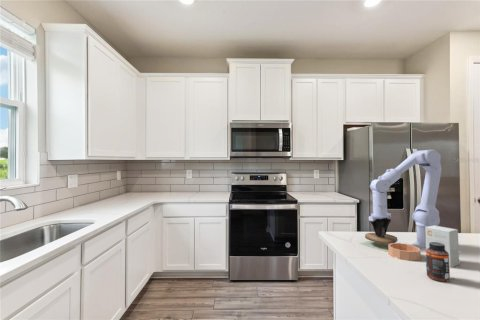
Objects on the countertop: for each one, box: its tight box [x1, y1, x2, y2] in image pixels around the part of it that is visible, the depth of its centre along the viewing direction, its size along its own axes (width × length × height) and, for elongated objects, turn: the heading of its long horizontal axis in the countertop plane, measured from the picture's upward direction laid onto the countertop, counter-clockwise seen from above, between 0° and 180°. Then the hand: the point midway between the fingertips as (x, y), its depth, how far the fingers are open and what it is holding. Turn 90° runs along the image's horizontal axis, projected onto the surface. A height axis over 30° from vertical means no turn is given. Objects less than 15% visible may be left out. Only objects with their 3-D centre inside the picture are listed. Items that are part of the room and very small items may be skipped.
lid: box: [364, 227, 398, 243], centre depth 114 cm, size 13×13×6 cm
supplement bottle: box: [425, 242, 451, 282], centre depth 81 cm, size 6×6×11 cm
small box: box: [425, 225, 460, 268], centre depth 94 cm, size 8×6×13 cm
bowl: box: [387, 242, 422, 262], centre depth 100 cm, size 11×11×4 cm
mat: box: [359, 240, 391, 253], centre depth 114 cm, size 13×13×1 cm
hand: (380, 234), depth 114 cm, fingers closed on lid, 3 cm apart
